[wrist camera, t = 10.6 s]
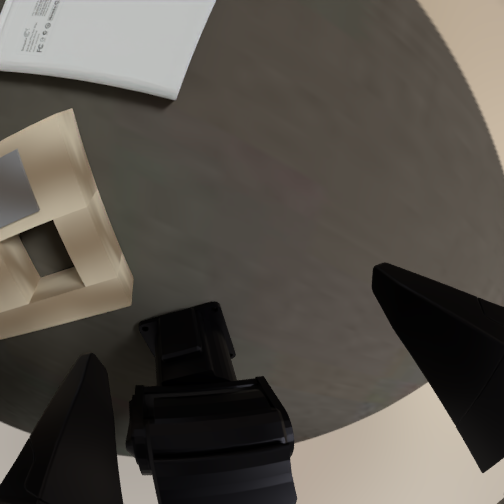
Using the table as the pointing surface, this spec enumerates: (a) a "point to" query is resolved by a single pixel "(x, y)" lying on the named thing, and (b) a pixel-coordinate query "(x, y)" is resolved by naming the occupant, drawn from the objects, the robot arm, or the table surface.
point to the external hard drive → (104, 40)
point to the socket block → (67, 223)
